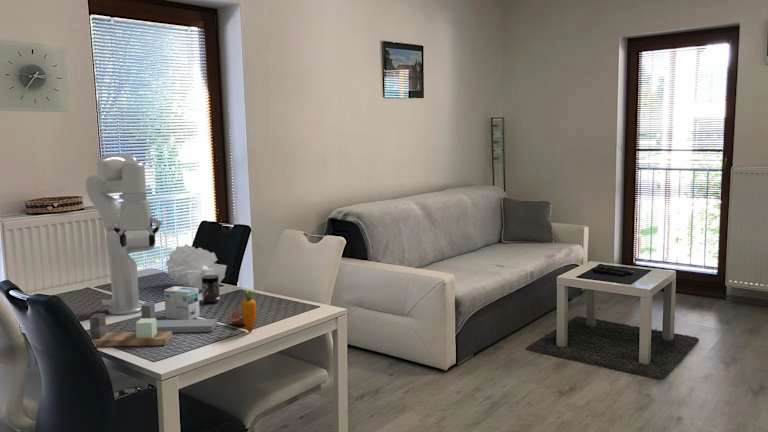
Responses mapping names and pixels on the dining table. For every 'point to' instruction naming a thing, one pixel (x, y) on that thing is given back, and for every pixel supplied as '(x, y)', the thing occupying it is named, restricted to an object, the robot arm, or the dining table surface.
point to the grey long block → (178, 322)
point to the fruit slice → (236, 317)
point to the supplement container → (210, 289)
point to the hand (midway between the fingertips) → (137, 246)
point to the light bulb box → (181, 303)
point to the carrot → (249, 311)
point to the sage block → (146, 328)
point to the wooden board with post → (122, 335)
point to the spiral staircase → (193, 266)
